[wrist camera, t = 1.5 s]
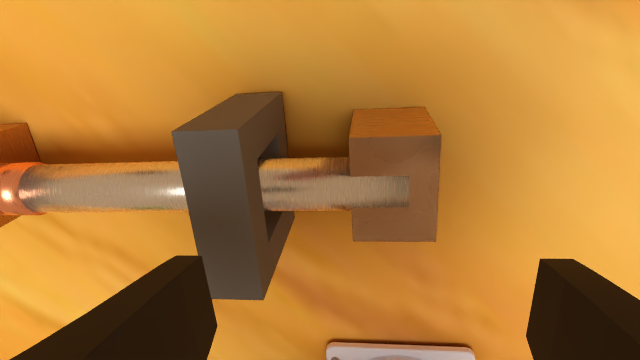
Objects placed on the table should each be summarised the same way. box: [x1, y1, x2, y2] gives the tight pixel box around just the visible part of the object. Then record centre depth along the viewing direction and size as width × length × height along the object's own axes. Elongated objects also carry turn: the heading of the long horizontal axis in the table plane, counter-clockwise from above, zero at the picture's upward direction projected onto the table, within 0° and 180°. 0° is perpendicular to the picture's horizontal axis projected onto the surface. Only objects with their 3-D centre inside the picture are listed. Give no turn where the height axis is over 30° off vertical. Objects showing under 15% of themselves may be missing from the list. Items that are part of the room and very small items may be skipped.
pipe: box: [0, 107, 441, 242], centre depth 17 cm, size 22×4×5 cm, turn 94°
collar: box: [172, 92, 295, 300], centre depth 15 cm, size 2×6×6 cm, turn 4°
